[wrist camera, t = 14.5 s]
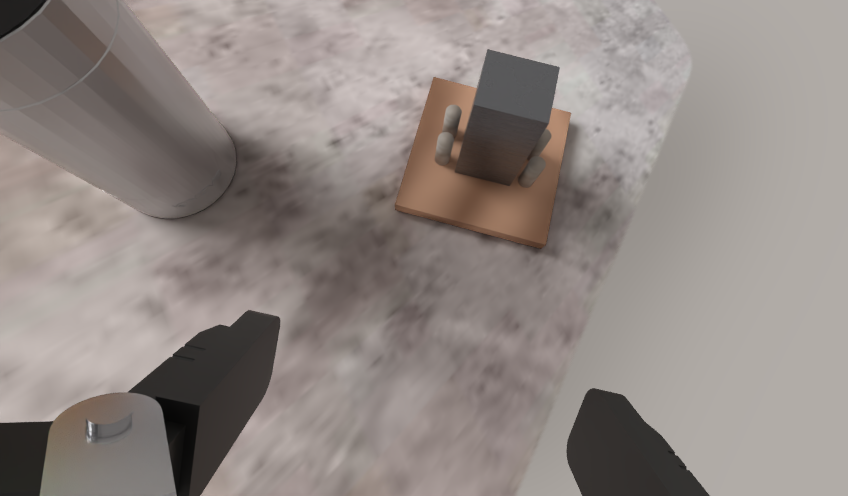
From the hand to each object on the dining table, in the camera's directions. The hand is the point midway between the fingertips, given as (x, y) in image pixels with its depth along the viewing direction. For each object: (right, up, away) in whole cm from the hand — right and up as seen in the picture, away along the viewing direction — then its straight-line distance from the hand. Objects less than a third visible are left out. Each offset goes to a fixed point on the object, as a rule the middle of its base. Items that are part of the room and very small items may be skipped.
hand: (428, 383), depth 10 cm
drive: (+5, +11, +23) cm, 25 cm away
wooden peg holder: (+5, +11, +24) cm, 26 cm away
